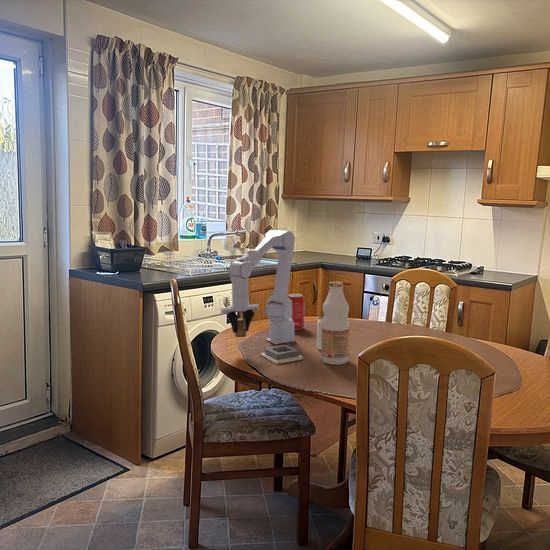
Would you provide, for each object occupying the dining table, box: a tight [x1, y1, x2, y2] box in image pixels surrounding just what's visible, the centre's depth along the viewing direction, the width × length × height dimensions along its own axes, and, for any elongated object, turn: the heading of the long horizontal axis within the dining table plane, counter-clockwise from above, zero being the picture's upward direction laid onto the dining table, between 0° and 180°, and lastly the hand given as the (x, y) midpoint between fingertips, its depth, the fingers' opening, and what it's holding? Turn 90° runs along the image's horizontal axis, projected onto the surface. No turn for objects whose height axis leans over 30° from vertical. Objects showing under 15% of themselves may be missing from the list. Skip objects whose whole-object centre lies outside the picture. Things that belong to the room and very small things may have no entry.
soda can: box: [287, 293, 306, 332], centre depth 232 cm, size 8×8×15 cm
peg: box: [234, 318, 247, 338], centre depth 195 cm, size 4×4×6 cm
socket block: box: [260, 344, 304, 365], centre depth 193 cm, size 11×11×3 cm
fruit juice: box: [321, 281, 350, 366], centre depth 187 cm, size 9×9×28 cm
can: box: [316, 315, 324, 351], centre depth 203 cm, size 6×6×12 cm
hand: (240, 331), depth 195 cm, fingers closed on peg, 4 cm apart
